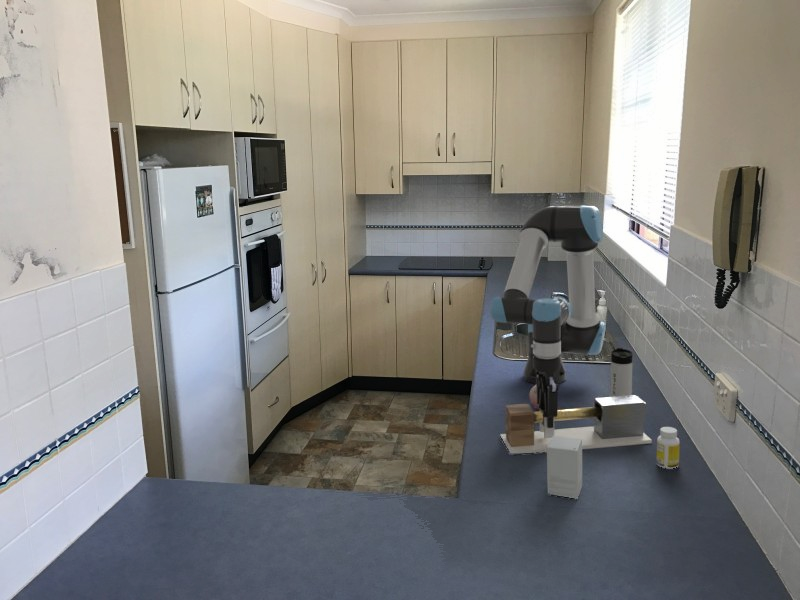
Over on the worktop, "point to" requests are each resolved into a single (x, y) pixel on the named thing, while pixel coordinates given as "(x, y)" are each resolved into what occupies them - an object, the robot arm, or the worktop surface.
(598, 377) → the worktop surface
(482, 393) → the worktop surface
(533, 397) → the decorative fruit
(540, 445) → the base board
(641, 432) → the metal sleeve
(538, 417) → the brass rod
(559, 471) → the supplement box
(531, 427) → the walnut socket
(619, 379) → the travel mug
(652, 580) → the worktop surface
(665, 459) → the supplement bottle
